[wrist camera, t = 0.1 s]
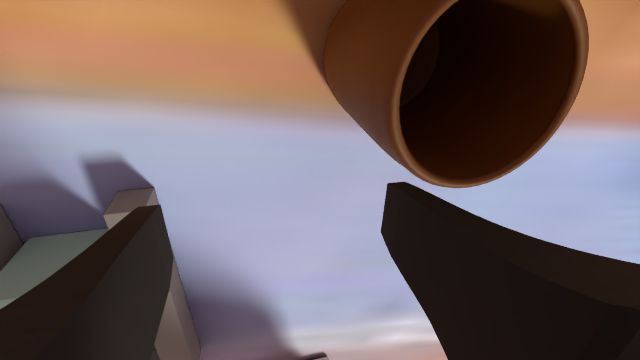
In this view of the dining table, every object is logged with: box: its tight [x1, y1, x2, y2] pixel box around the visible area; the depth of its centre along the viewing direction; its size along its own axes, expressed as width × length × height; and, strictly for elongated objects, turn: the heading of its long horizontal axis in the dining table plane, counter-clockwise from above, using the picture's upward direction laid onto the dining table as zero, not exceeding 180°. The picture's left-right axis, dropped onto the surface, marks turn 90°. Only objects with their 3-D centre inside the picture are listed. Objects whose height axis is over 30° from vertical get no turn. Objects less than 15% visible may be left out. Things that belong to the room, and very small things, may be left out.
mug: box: [324, 0, 589, 188], centre depth 14 cm, size 12×8×9 cm, turn 29°
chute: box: [0, 188, 201, 360], centre depth 21 cm, size 16×10×2 cm, turn 0°
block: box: [0, 228, 109, 309], centre depth 19 cm, size 5×5×5 cm
